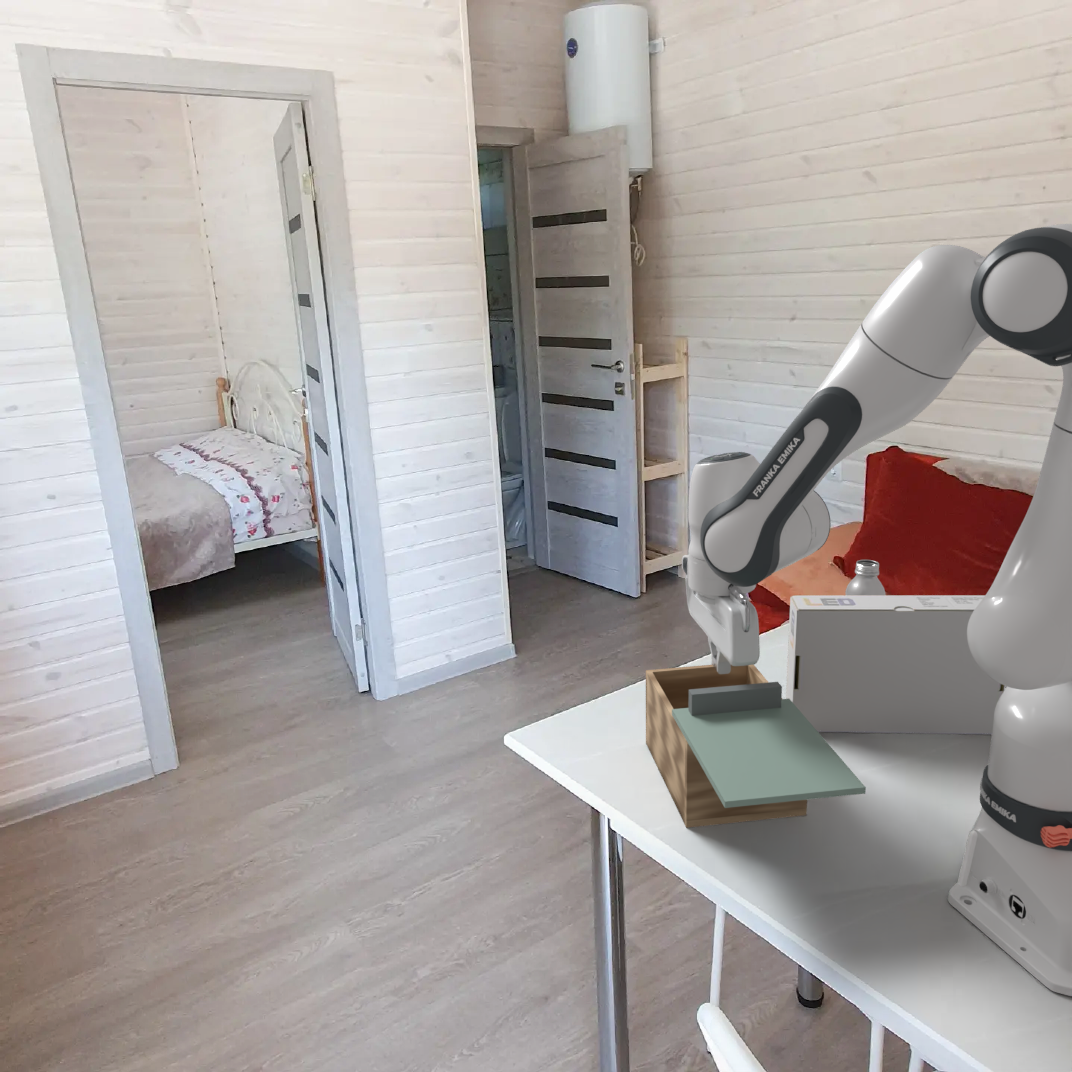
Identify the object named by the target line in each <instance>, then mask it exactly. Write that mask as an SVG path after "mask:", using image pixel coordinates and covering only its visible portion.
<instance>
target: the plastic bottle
mask: <svg viewBox="0 0 1072 1072" xmlns="http://www.w3.org/2000/svg"><path fill="white" fill-rule="evenodd" d="M879 568H880V563H879V562H878V561H876V560H871V559H860V560H857V561H856V563H855V569H854V573H855V574H856V575H855V576H854V577H853V578H852V579H851V580H850V581H849V583H848V584H847V586H846V589H845V595H886V594H887V593H886V591H885V587H884V585H883V584H882V582H881V581H880V579H879V578H878V576H879V575H880V569H879Z"/></svg>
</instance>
